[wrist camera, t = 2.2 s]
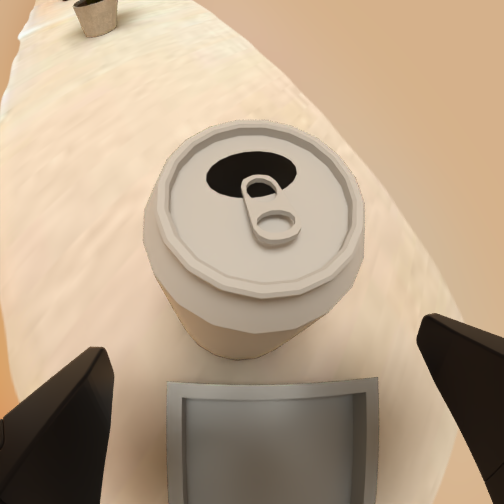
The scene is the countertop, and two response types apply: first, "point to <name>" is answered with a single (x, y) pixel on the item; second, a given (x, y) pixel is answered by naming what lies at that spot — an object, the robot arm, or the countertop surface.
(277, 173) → the can
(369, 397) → the tray
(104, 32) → the house plant
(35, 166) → the countertop surface
